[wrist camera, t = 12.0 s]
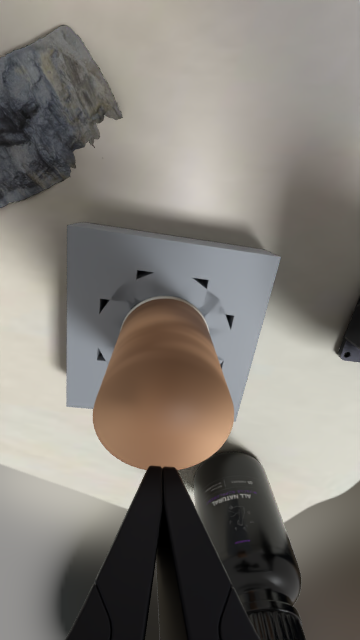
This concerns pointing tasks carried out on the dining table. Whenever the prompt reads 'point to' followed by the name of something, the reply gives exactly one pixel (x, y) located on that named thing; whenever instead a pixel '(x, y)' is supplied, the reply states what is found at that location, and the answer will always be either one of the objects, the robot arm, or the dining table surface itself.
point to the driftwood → (48, 112)
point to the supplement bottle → (251, 542)
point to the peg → (163, 389)
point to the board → (160, 280)
